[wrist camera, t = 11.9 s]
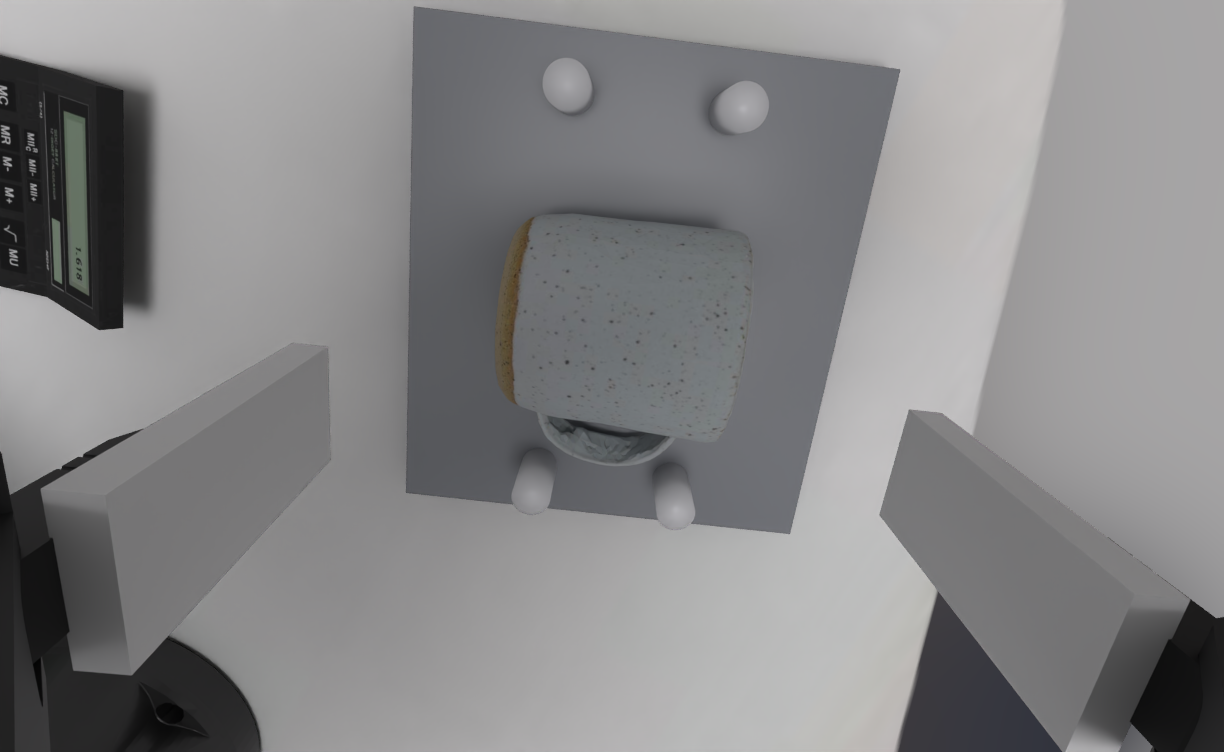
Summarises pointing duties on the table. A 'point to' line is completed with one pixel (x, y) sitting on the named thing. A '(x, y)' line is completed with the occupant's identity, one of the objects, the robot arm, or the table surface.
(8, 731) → the robot arm
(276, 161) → the table surface
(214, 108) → the table surface
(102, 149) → the calculator
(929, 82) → the table surface
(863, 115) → the pin tray
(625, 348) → the ceramic mug
